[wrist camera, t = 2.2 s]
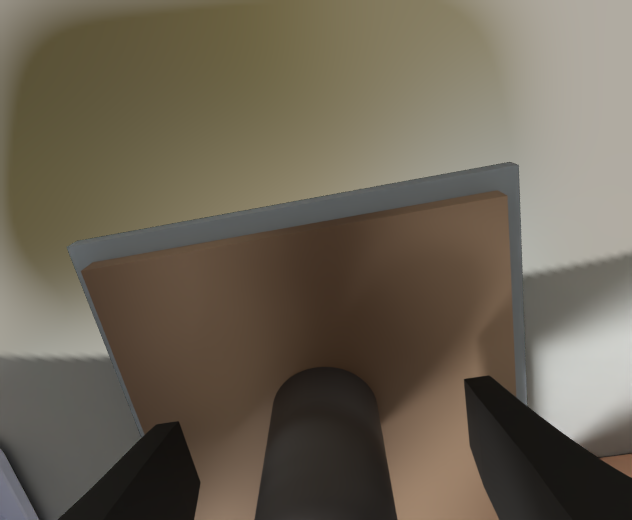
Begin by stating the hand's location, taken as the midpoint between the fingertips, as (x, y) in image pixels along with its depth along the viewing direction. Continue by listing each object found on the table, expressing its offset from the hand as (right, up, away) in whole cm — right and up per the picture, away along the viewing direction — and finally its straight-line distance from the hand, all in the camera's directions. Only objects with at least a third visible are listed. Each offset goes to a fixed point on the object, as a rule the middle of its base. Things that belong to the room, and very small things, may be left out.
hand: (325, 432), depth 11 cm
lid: (0, 0, +1) cm, 1 cm away
